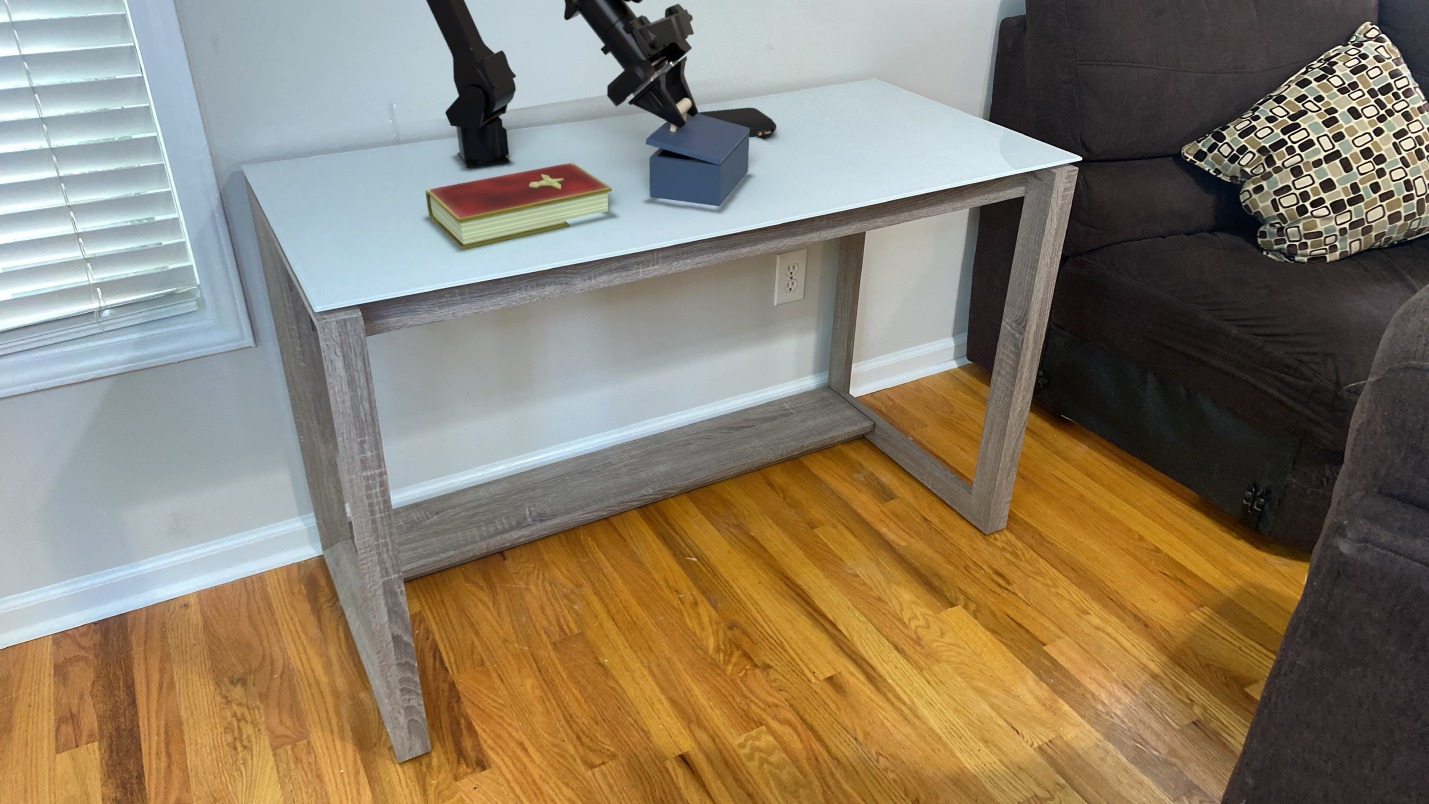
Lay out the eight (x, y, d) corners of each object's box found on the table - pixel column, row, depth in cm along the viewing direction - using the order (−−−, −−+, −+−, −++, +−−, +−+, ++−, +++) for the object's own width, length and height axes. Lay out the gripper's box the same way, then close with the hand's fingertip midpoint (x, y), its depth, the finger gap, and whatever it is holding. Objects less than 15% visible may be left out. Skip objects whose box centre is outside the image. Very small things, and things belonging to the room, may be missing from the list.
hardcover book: (429, 217, 127) (424, 186, 125) (572, 188, 137) (570, 159, 135) (462, 249, 119) (458, 217, 117) (612, 216, 129) (611, 186, 127)
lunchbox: (650, 202, 134) (649, 157, 130) (683, 168, 145) (684, 126, 142) (718, 211, 131) (720, 165, 128) (747, 176, 143) (749, 133, 139)
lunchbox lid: (645, 144, 129) (649, 113, 127) (680, 114, 141) (684, 85, 139) (719, 165, 128) (725, 135, 125) (749, 133, 139) (754, 104, 137)
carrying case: (699, 150, 152) (783, 140, 157) (699, 130, 151) (784, 122, 156) (675, 130, 161) (756, 121, 165) (675, 111, 159) (757, 104, 164)
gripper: (631, -1, 118) (711, 103, 122) (681, -26, 133) (751, 68, 136) (572, 55, 124) (650, 153, 128) (626, 26, 139) (694, 114, 143)
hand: (689, 120), depth 133 cm, fingers closed on lunchbox lid, 5 cm apart
